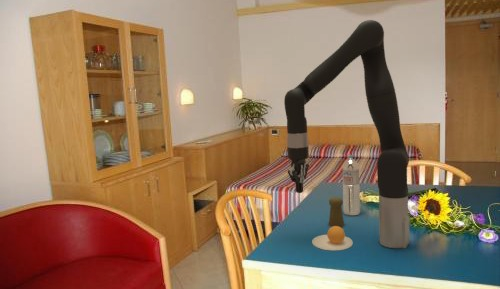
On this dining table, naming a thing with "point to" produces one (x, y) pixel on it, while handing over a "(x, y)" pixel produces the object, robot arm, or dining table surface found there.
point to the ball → (336, 234)
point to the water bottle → (351, 187)
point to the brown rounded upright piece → (336, 212)
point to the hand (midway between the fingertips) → (299, 192)
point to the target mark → (326, 244)
